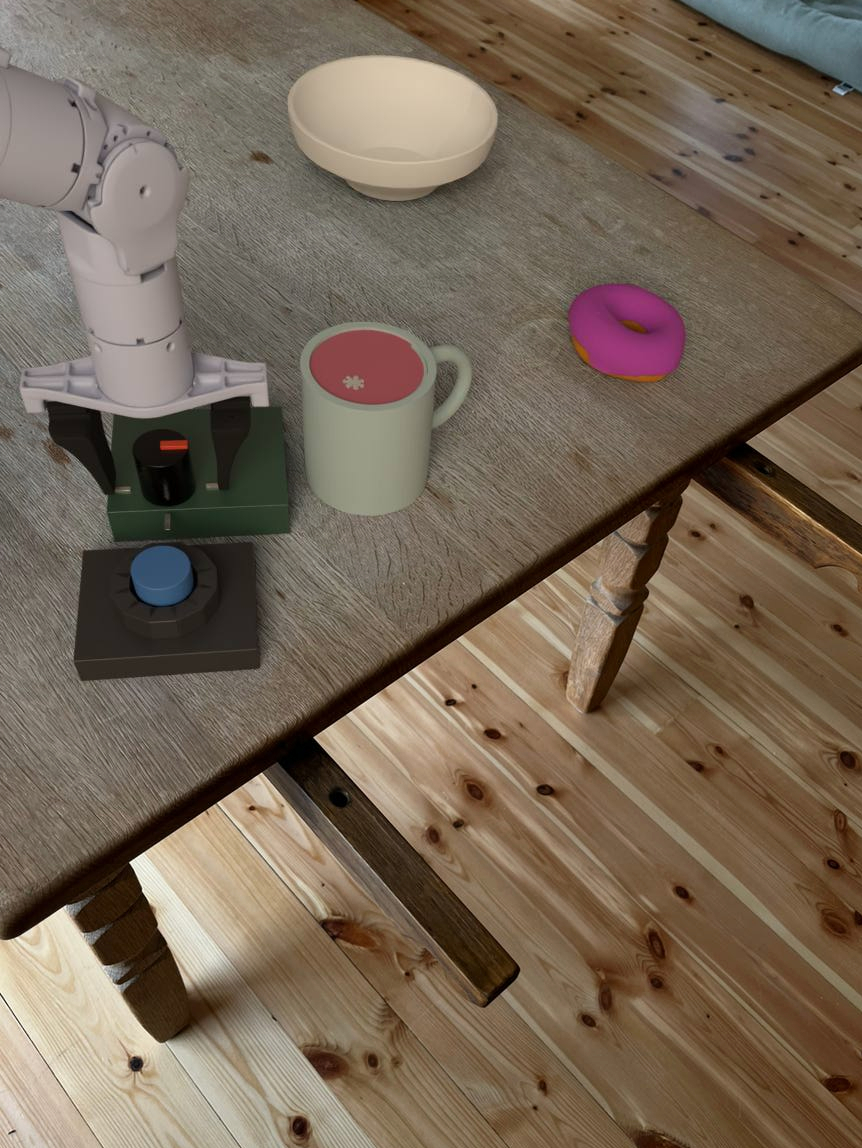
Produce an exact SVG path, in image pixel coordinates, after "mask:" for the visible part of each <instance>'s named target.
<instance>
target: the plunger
mask: <svg viewBox="0 0 862 1148" xmlns="http://www.w3.org/2000/svg"><path fill="white" fill-rule="evenodd" d="M131 576H132V579H133V583H134V587H135V591H136V593H137V595H138V596H139V598H140V599H142V600H143V601H144V602H146V603H148V604H150V605H154V606H170V605H174V604H176V603H179V602H181V601H182V600H184V599H185V598H186V597H187V596H188V595H189V594H190V592H191V591H192V588H193V585H194V579H193V574H192V568H191V563H190V560H189V558H188V556H187V555H186V554H185V553H184V552H183V551H181V550H180V549H178V548H175V547H172V546H165V545H161V546H154V547H151V548H148V549H146V550H144V551H142V552H141V553H140V554H138V555H137V556H136V557H135V559H134V560H133V562H132V565H131Z"/></svg>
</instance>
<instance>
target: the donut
mask: <svg viewBox="0 0 862 1148" xmlns="http://www.w3.org/2000/svg"><path fill="white" fill-rule="evenodd" d="M567 314H568V327H569V331H570V336H571V340H572V344H573V346H574V349H575V351H576V353H577V354H578V356H579V357H580V358H581V359H582V360H583V362H584V363H586V364H587V365H588V366H590V367H591V368H592V369H594V370H596V372H597V371H598V373H601V374H604V375H607V376H609V377H613V378H616V379H621V380H625V381H631V382H637V383H653V382H659V381H661V380H662V379H664V378H666V377H667V376H668V375H669V374H672V373H673V372H675V371H676V370H677V369H678V367H679V365H680V364H681V360H682V357H683V354H684V350H685V344H686V336H687V335H686V326H685V323H684V320H683V318H682V316H681V314H680V313H679V312H678V311H677V310H676V308H675V307H673V306H672V304H670V303H669V302H667V301H666V300H665V299H663V298H662V297H661V296H659V295H657V294H656V293H654V292H652V291H650V290H649V289H646V288H644V287H641V286H637V285H635V284H629V283H620V282H619V283H618V282H617V283H616V282H615V283H614V282H613V283H605V284H598V285H594V286H591V287H588V288H587V289H585V290H583V291H582V292H580V293H578V295H576V296H575V298H573V300H572V302H571V304H570V306H569V309H568V311H567Z"/></svg>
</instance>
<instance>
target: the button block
mask: <svg viewBox="0 0 862 1148" xmlns="http://www.w3.org/2000/svg"><path fill="white" fill-rule="evenodd" d="M161 545H165V546H172V547H175V548H178V549H180V550H181V551H183V552H184V553H185V554H186V555H187V556H188V558H189V560H190V563H191V568H192V574H193V579H194V585H193V588H192V591H191V592H190V594H189V595H188V596H187V597H186V598H185V599H184V600H182V601H181V602H179V603H176V604H174V605H170V606H154V605H150V604H148V603H146V602H144V601H143V600H142V599H140V598H139V596H138V595H137V593H136V591H135V587H134V583H133V579H132V576H131V565H132V562H133V560H134V559H135V557H136V556H137V555H138V554H140V553H141V552H142V551H144V550H146V549H148V548H151V547H154V546H161ZM256 565H257V564H256V554H255V547H254V542H253V541H245V542H226V543H225V542H224V543H223V542H222V543H203V544H201V543H200V544H187V543H184V542H181V541H166V542H164V541H163V542H150V543H148V544H145V545H143V546H141V547H124V548H123V547H122V548H121V547H120V548H101V549H99V548H98V549H83V551H82V559H81V570H80V582H79V592H78V593H79V594H78V605H77V617H76V627H75V639H74V640H75V641H74V650H73V651H74V652H73V663H74V666H75V669H76V671H77V674H78V677H79V679H80V681H81V682H86V681H87V682H88V681H102V680H103V681H104V680H115V679H116V680H117V679H129V678H131V679H132V678H145V677H159V676H174V675H188V674H204V673H219V672H231V671H232V672H233V671H234V672H235V671H245V670H247V671H249V670H259V669H260V644H259V643H260V642H259V620H258V619H259V618H258V595H257V592H258V591H257V589H258V588H257V566H256Z"/></svg>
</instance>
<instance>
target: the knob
mask: <svg viewBox="0 0 862 1148" xmlns="http://www.w3.org/2000/svg"><path fill="white" fill-rule="evenodd" d="M132 453H133V457H134V461H135V466H136V470H137V474H138V479H139V483H140V487H141V491H142V495H143V496H144V498H145V499H146V500H147V501H148V502H150V503H152V504H154V505H157V506H162V507H171V506H176V505H179V504H182V503H184V502H186V501H187V500H188V499H189V498H190V497H191V496H192V495H193V493H194V491H195V479H194V473H193V467H192V462H191V456H190V450H189V444H188V441H187V439H186V438H185V437H184V436H183V435H182V434H180V433H179V432H177V431H174V430H170V429H154V430H150V431H147V432H145V433H143V434H142V435H140V436H139V437H138V438H137V439H136V440H135V442H134V443H133V446H132Z"/></svg>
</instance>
